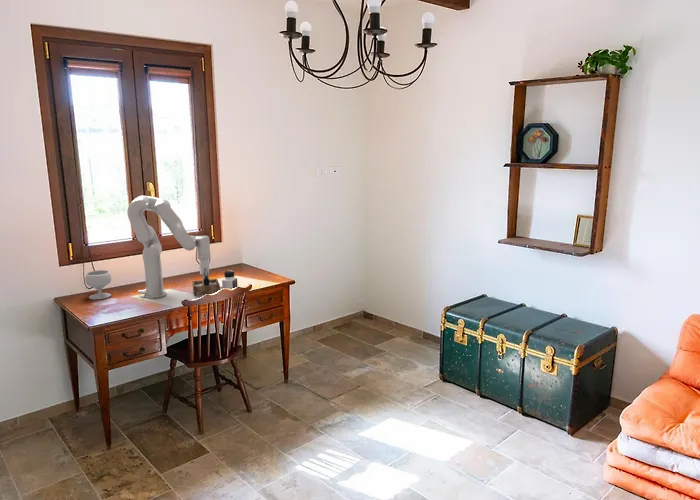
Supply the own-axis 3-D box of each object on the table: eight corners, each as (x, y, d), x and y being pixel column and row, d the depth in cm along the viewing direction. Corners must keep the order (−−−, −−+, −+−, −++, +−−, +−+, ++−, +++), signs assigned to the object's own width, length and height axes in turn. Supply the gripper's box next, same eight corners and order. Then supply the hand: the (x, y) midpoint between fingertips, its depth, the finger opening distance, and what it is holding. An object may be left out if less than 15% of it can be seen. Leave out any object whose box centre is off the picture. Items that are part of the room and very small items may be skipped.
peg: (203, 293, 310) (202, 274, 307) (202, 291, 313) (201, 272, 311) (210, 292, 311) (208, 273, 308) (209, 290, 315) (208, 272, 312)
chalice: (93, 302, 293) (90, 277, 290) (83, 297, 302) (80, 273, 299) (117, 296, 304) (114, 272, 300) (106, 292, 313) (104, 268, 309)
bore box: (194, 296, 303) (193, 287, 302) (192, 290, 316) (192, 281, 315) (220, 293, 308) (219, 284, 307) (217, 287, 321) (216, 278, 320)
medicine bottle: (233, 291, 313) (232, 272, 310) (222, 291, 314) (221, 272, 312) (237, 288, 320) (236, 270, 317) (227, 287, 321) (226, 269, 319)
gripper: (196, 253, 314) (198, 280, 317) (198, 259, 298) (200, 287, 302) (208, 252, 316) (210, 279, 320) (211, 258, 301) (213, 286, 304)
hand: (205, 283), depth 311 cm, fingers open, 9 cm apart
